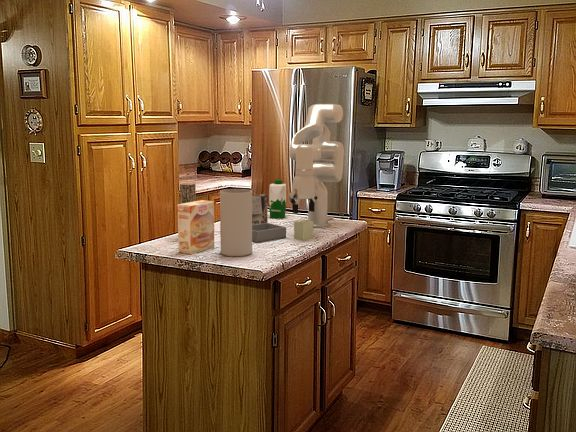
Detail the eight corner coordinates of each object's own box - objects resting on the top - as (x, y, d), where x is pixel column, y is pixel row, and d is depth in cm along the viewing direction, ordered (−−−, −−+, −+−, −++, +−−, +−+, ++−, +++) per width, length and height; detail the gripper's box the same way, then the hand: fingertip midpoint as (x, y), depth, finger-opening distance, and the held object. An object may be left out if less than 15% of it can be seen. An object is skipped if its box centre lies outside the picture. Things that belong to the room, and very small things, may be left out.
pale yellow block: (303, 237, 259) (304, 219, 257) (313, 239, 254) (313, 221, 253) (294, 238, 255) (294, 221, 254) (303, 241, 250) (303, 223, 249)
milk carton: (286, 216, 311) (287, 179, 308) (284, 219, 303) (284, 181, 299) (271, 215, 313) (271, 179, 309) (267, 218, 304) (267, 181, 301)
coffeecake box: (191, 254, 224) (190, 205, 221) (177, 252, 228) (176, 204, 225) (215, 247, 237) (214, 201, 233) (202, 245, 241) (201, 199, 237)
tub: (267, 233, 266) (267, 222, 265) (286, 237, 256) (286, 227, 255) (238, 237, 255) (238, 226, 255) (257, 243, 246) (257, 231, 245)
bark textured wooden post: (199, 237, 255) (198, 182, 251) (190, 240, 249) (189, 183, 245) (186, 236, 258) (185, 181, 254) (177, 239, 252) (176, 182, 248)
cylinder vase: (216, 251, 230) (215, 189, 226) (245, 248, 235) (245, 188, 231) (226, 258, 219) (225, 193, 215) (256, 255, 224) (256, 192, 220)
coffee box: (263, 229, 275) (263, 196, 272) (250, 229, 276) (250, 196, 273) (268, 226, 284) (268, 194, 281) (255, 225, 285) (255, 193, 282)
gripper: (312, 172, 258) (311, 209, 260) (283, 173, 247) (283, 212, 249) (324, 173, 252) (323, 211, 255) (295, 174, 241) (294, 214, 243)
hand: (303, 212), depth 252 cm, fingers open, 9 cm apart
